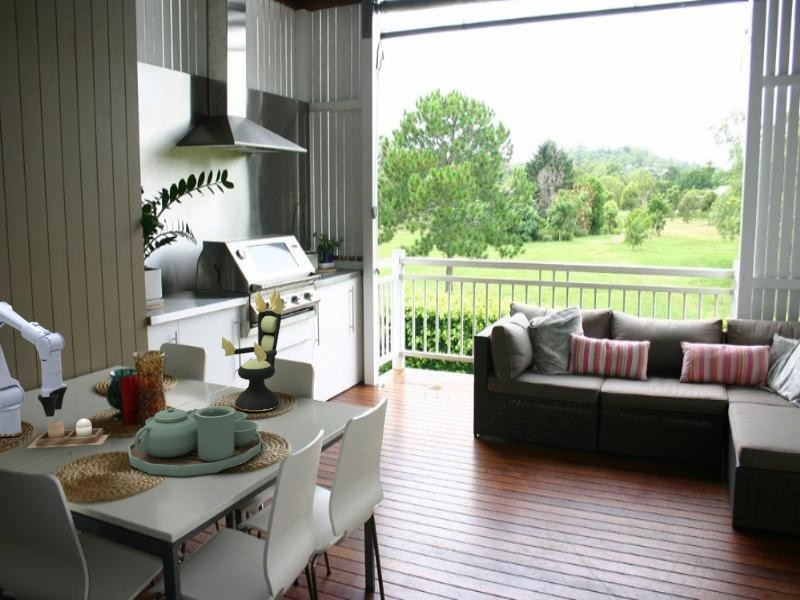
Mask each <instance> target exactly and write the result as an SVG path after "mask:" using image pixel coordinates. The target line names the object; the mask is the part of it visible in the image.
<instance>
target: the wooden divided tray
mask: <svg viewBox="0 0 800 600" xmlns="http://www.w3.org/2000/svg"><path fill="white" fill-rule="evenodd" d="M103 429H104V428H103V427H100V428H92V437H76V429H64V437H65V438H57V439H48V430H45V431H44V432H43V433H42V434H39V436H38V437H36V439H35V440H33V442H31V444H29V445H28V446H27V447H26V448H25V449H41V448H42V449H43V448H61V447H62V448H63V447H77V446H97V445H100V446H101V445H103V443H105V441H106V439H108V437H109V435H110V434H108V435H106V434H105V435H103V432H104V430H103Z"/></svg>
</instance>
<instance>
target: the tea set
mask: <svg viewBox="0 0 800 600" xmlns="http://www.w3.org/2000/svg"><path fill="white" fill-rule="evenodd" d="M247 417H248V414H247V412H244V411H239V410H237V411H236V409H235V408H234V407H230V406H227V405H226V406H224V405H215V406H213V405H207V406H206V407H202V408H194V409H190V410H187V411H186V410H184V409H180V408H172V407H169V408H168V409H163V410H161V411H157V413H155V414H154V416H152V417H149V418H148V419H146V420H145V421H144V422H145V425H144V427H141V428H140V429H139V430H138V431H137V432H136V435H134V436H135V437H134V439H133V440H134V441H133V442H132V443H131V444H129V445H127V455H128V456H127V457H128V460H129V461H128V462H129V464H130V466H131V467H132V466H133V467H132V468H134V467H135V468H134V469H136V468H138V469H137V470H139V469H140V470H139V471H141V470H142V472H144V473H146V472H147V473H146V474H149V475H153V474H154V475H155V476H156V475H157V476H168V477H169V476H170V477H180V478H181V477H191V476H198V475H207V474H209V475H210V474H216V473H219V471H220V472H222V471H221V470H223V469H226V468H228V467H231V466H234V465H237V464H240V463H244V462H246V461H247V460H249V459H250V458H251V457H253V456H254V455H256V454H257V453H259V452H260V453H261V451H262V433H259V432H258V431H257V429H258V427H259V424H258V422H256V421H252V420H247ZM260 453H259V454H260ZM256 456H257V455H256ZM249 461H250V460H249ZM223 471H224V470H223Z"/></svg>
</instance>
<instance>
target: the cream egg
mask: <svg viewBox="0 0 800 600" xmlns="http://www.w3.org/2000/svg"><path fill="white" fill-rule="evenodd" d="M92 429H93V427H92V422H91V420H89V419H88V418H80V419H79V420H78V421H77V422H76V423H75V430H76V437H92Z"/></svg>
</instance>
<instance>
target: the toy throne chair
mask: <svg viewBox="0 0 800 600" xmlns="http://www.w3.org/2000/svg"><path fill="white" fill-rule="evenodd" d="M254 303H255V310H256V312H258V314H257V343H256V342H255V341H254V342H253V343H254V344H253V345H254V346H248V347H239V348H235V346H234V344H233V343H232V342H231V341H230V340H229V339H226V338H225V337H223V336H222V337H221V349H223V350H224V351H225V352H224V353H225V354H224V356H225V357H229V356H234V355H244V354H248V353H249V354H250V353H254V355H255V357H256V359H251V360H248V361H246V362H244V363H243V364H242V365H241V366H239V367H238V369H237V375H238V376H239V378H241V379H243V380H247V381H248V386H247V387H246V388H245V390H243V391H242V392H241V393H240V394H239V395H238V396H237V398H236V399H235V402H234V406H235V405H236V406H237V407H239V408H241V409H248V410H263V409H270V408H274V407H276V406H277V407H278V406H279V405H280V400H279V398H278V396H277V394H275V392H273V391H272V390H271V389H269V388H268V387H267V386H266V384H265V380H268V379H271V378H272V377H273V376H274V375H275V374H276V369H275V361H276V356H277V354H278V351H277V347H278V341H279V340H278V339H279V335H280V329H281V322H282V312H283V310H284V303H283V300H282V297H281V294H280V291H278V292H277V291H276V289H275V288H274V289H273V291H272V293H271V296H270V297H269V307H268V308H269V309H270V310H266V309H267V304H266V302H265V300H264V299H263V297H262V296H261V293H260V291H259V290H257V291H256V296H255V299H254ZM277 407H276V408H277Z"/></svg>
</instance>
